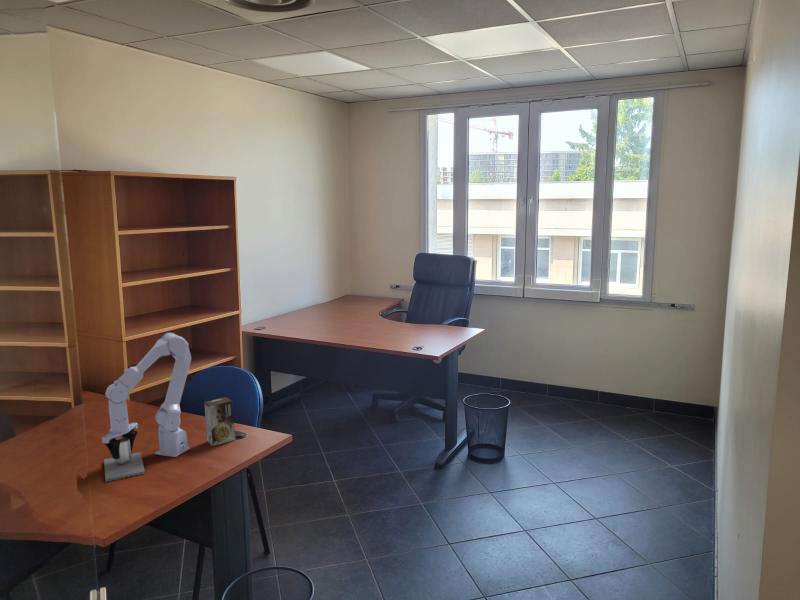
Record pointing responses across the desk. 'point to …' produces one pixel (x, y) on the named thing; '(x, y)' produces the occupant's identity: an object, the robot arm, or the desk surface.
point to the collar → (124, 450)
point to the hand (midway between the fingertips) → (122, 454)
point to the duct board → (123, 468)
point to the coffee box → (219, 421)
